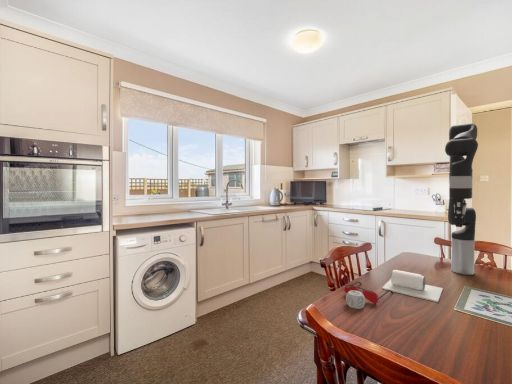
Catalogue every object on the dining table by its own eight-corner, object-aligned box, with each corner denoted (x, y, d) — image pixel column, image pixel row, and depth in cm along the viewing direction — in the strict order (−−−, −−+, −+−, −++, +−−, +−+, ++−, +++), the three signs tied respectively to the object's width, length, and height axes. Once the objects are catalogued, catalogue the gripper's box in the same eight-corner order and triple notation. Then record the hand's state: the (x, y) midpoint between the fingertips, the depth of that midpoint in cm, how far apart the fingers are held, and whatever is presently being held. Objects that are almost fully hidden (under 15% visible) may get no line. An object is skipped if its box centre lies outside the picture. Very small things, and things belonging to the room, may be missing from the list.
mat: (391, 278, 124) (391, 277, 123) (442, 289, 110) (442, 288, 110) (382, 289, 112) (382, 287, 112) (437, 302, 98) (437, 300, 98)
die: (356, 302, 100) (356, 289, 99) (365, 307, 95) (365, 294, 95) (345, 304, 98) (345, 291, 98) (354, 310, 93) (354, 296, 93)
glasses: (343, 295, 106) (343, 284, 106) (360, 284, 117) (360, 274, 117) (378, 307, 96) (377, 294, 96) (393, 294, 107) (393, 282, 107)
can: (393, 266, 116) (424, 272, 108) (395, 275, 119) (426, 282, 111) (390, 277, 112) (422, 284, 104) (392, 287, 115) (423, 294, 107)
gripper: (471, 187, 100) (470, 229, 100) (473, 186, 110) (472, 223, 111) (447, 187, 105) (446, 226, 105) (451, 186, 115) (451, 222, 116)
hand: (460, 225), depth 108 cm, fingers open, 8 cm apart
